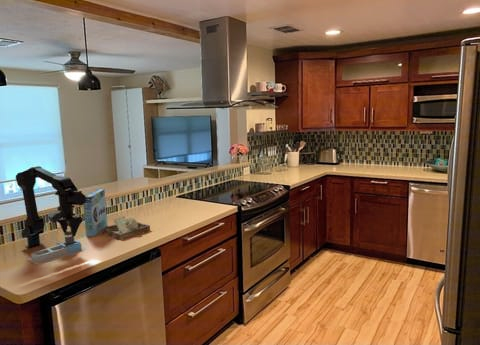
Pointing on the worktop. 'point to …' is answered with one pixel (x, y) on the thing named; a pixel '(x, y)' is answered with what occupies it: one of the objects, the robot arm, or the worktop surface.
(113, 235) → the cheese crate
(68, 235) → the dark grey cylinder
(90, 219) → the gum box
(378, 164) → the worktop surface
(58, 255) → the narrow cubby shelf
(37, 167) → the robot arm
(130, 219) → the pale green lump
